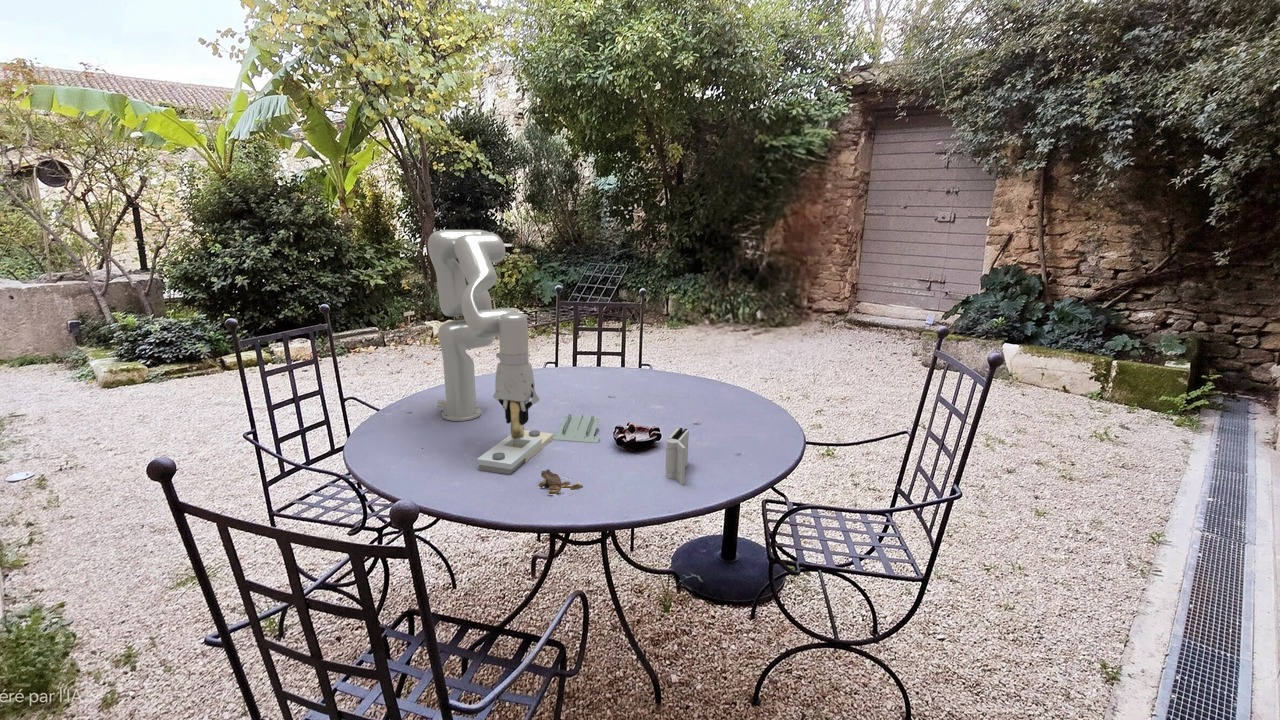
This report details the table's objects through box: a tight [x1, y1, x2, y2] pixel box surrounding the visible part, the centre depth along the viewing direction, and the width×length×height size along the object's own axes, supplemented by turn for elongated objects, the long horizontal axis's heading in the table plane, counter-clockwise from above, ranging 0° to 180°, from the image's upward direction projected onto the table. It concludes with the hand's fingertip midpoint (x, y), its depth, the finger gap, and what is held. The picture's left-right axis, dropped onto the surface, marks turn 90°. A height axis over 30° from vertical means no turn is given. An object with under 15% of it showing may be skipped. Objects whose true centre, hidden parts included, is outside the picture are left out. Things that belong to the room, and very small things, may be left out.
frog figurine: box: [537, 468, 584, 494], centre depth 145 cm, size 12×12×4 cm
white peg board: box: [476, 429, 554, 475], centre depth 165 cm, size 26×10×4 cm, turn 164°
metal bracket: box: [551, 412, 601, 445], centre depth 180 cm, size 14×6×15 cm
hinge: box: [665, 427, 690, 486], centre depth 154 cm, size 14×5×10 cm, turn 172°
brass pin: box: [509, 401, 525, 439], centre depth 162 cm, size 4×4×12 cm
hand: (517, 422), depth 163 cm, fingers closed on brass pin, 3 cm apart
